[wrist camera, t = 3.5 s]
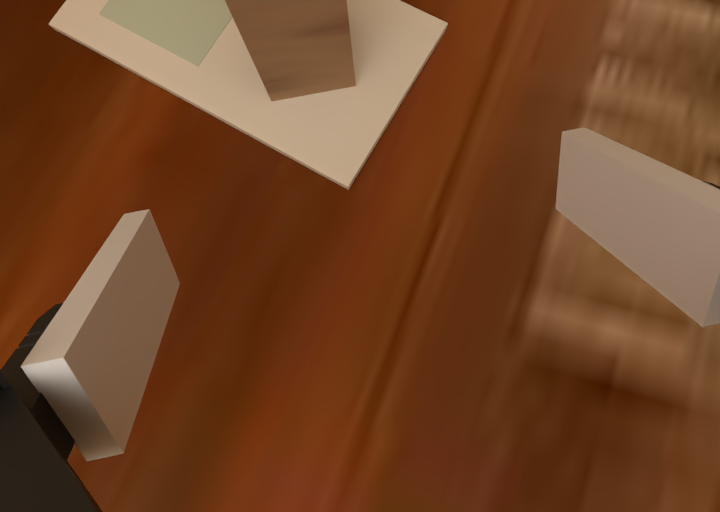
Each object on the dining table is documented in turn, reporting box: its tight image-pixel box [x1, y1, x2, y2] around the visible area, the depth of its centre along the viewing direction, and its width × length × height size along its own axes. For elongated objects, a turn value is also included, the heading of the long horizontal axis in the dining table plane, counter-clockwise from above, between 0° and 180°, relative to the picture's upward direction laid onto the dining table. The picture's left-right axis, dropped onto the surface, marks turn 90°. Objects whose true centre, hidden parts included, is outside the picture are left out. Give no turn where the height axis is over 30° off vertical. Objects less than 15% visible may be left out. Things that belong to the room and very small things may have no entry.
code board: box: [49, 0, 448, 190], centre depth 34 cm, size 14×26×1 cm, turn 60°
